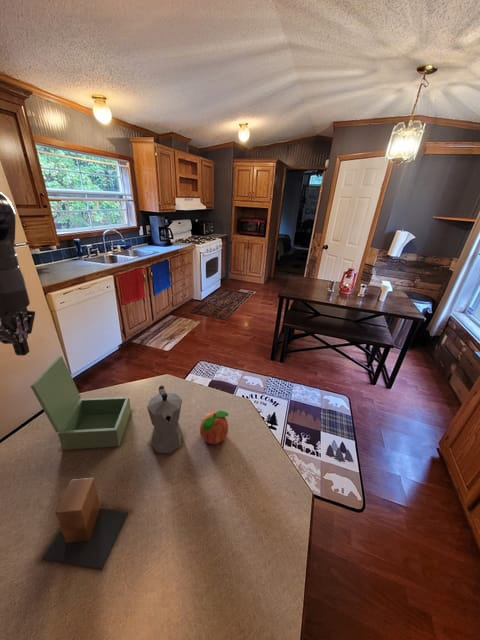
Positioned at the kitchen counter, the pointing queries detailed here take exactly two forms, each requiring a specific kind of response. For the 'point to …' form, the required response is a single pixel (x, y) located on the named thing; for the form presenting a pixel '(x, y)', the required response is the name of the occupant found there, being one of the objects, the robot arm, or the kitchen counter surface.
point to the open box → (95, 423)
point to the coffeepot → (165, 421)
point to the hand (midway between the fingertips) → (23, 354)
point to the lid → (56, 393)
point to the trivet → (89, 542)
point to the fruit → (214, 427)
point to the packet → (78, 510)
